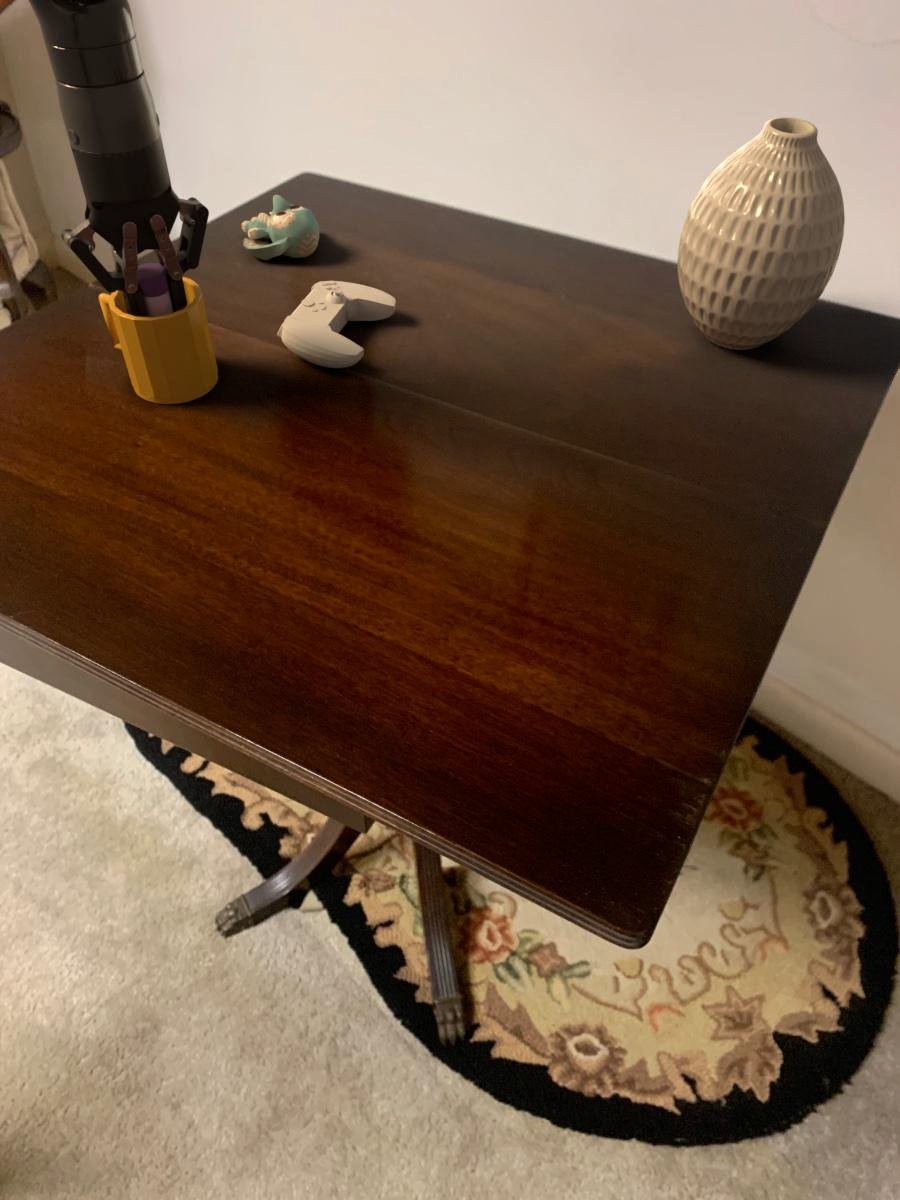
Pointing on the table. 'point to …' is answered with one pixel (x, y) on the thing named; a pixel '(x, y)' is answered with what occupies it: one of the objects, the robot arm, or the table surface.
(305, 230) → the green dragon head figurine
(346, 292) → the game controller
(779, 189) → the vase
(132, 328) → the mug
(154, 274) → the glue stick
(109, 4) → the robot arm
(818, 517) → the table surface
